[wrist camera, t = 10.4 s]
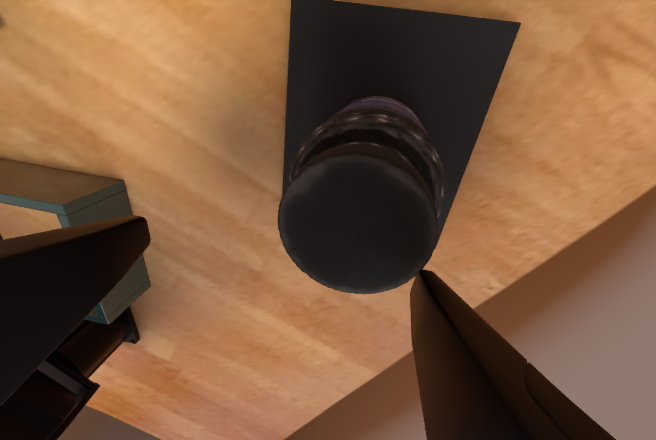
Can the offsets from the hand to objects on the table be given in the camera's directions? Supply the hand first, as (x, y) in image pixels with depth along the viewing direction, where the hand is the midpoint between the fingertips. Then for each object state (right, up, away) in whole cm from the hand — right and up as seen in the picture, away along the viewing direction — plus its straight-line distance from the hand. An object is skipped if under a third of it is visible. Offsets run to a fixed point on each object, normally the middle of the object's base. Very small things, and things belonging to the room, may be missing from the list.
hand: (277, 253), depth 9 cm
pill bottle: (+5, +6, +9) cm, 12 cm away
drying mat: (+5, +6, +9) cm, 12 cm away
